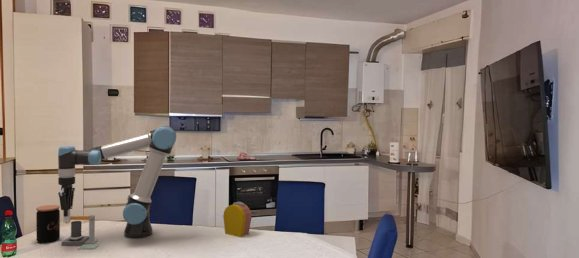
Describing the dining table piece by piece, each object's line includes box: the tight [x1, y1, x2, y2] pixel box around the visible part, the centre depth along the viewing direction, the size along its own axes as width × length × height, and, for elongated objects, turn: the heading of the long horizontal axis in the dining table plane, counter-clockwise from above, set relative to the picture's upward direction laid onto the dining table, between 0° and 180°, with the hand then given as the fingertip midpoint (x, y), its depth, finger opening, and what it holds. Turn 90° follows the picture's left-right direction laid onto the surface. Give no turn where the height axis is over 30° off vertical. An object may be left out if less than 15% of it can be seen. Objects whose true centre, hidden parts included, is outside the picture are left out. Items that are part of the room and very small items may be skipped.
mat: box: [77, 243, 100, 250], centre depth 201 cm, size 8×6×1 cm
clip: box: [70, 215, 96, 221], centre depth 207 cm, size 14×3×4 cm, turn 95°
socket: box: [61, 220, 99, 247], centre depth 207 cm, size 15×10×12 cm, turn 95°
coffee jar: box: [35, 204, 61, 244], centre depth 209 cm, size 11×11×18 cm
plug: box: [69, 220, 83, 241], centre depth 207 cm, size 6×6×11 cm
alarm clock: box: [222, 201, 253, 238], centre depth 228 cm, size 15×8×18 cm, turn 58°
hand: (66, 222), depth 202 cm, fingers closed
